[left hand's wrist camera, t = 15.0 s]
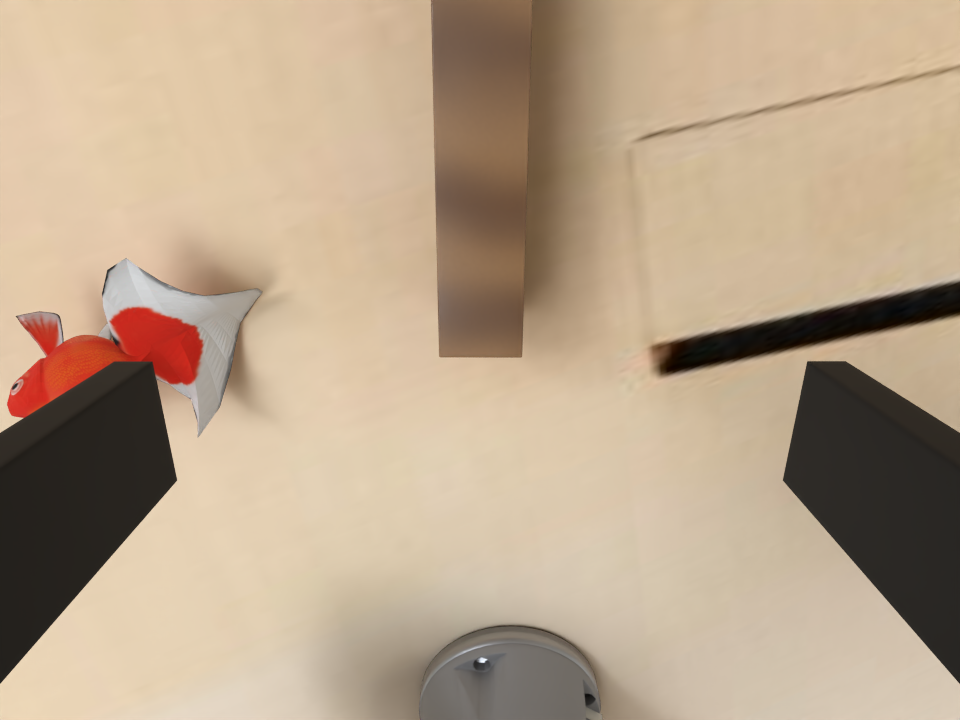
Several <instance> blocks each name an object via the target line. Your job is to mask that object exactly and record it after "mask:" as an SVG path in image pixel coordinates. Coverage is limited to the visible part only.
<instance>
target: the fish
mask: <svg viewBox="0 0 960 720" xmlns="http://www.w3.org/2000/svg"><path fill="white" fill-rule="evenodd" d="M261 293H262V291H261V290H259V289H250V290H245V291H241V292H235V293H226V294H218V295H209V296H203V295H198V294H193V293H189V292H184V291H182V290H179V289H177V288H175V287H173V286H170V285H168V284H166V283H163V282H161V281H159V280H158V279H156V278H155V277H153V276H151V275H150V274H148V273H147V272H145V271H144V270H142V269H140V268H139V267H138V266H136V265H135V264H133V263H132V262H131V261H129V260H128V259H127V258H125V259H124V260H122V261H121V262H119V263H118V264H116V265H115V266H113V267H111V268H110V269H108V270H107V274H106V279H105V283H104V288H103V292H102V297H103V307H104V312H105V315H106V319H107V322H108V324H106V325H105V326H104V328H103V329H102V330H101V332H100V333H99V335H98V336H94V335H80V336H76V337H73V338H71V339H69V340H67V341H65V342H63V331H62V325H61V319H60V316H59V315H58V314H55V313H48V312H40V311H39V312H34V313H29V314H23V315H19V316H16V317H17V318H18V320H19V321H20V323H21V324H22V326H23V327H24V328H25V329H26V330H27V331H28V332H29V334H30V335H31V336H32V338H33V339H34V340H35V341H36V342H37V343H38V345H39V346H40V348H41V349H42V351H43V352H44V354H45V355H46V358H43V359H40V360H38V361H37V362H36V363H35V364H34V365H33V366H32V367H31V368H30V369H29V370H28V371H27V372H26V373H25V374H24V375H23V376H21V377H20V378H19V379H18V380H17V381H16V382H15V383H14V384H13V386H12V388H11V391H10V395H9V399H8V402H7V406H8V409H9V412H10V414H11V415H12V416H15V417H22V418H25V417H27V416H28V415H30V414H31V413H33V412H35V411H36V410H38V409H39V408H41V407H42V406H44V405H46V404H47V403H49V402H50V401H52V400H54V399H55V398H57V397H58V396H60V395H62V394H63V393H65V392H66V391H68V390H70V389H71V388H73V387H74V386H76V385H78V384H79V383H81V382H82V381H84V380H86V379H87V378H89V377H90V376H92V375H94V374H95V373H97V372H98V371H100V370H101V369H103V368H105V367H106V366H108V365H109V364H111V363H113V362H114V361H153V366H154V371H155V376H156V379H158V380H160V381H162V382H165V383H167V384H169V385H171V386H172V387H173V388H175V389H176V390H177V391H179V392H180V393H182V394H183V395H185V396H186V397H188V398H190V399H191V400H192V404H193V407H194V411H195V414H196V418H197V421H198V437H199V436H200V434H201V433H202V431H203V430H204V428H205V427H206V426H207V424H208V423H209V421H210V420H211V419H212V417H213V416H214V414H215V413H216V412H217V410H218V409H219V407H220V405H221V401H222V398H223V394H224V391H225V388H226V384H227V381H228V378H229V374H230V371H231V366H232V361H233V355H234V350H235V345H236V340H237V336H238V332H239V327H240V323H241V321H242V320H243V318H244V317H245V316H246V314H247V313H248V311H249V310H250V308H251V307H252V305H253V304H254V302H255V301H256V300H257V298H258V297H259V296H260V295H261ZM111 334H112V337H113V340H114V342H113V341H111Z"/></svg>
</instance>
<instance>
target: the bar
mask: <svg viewBox="0 0 960 720" xmlns="http://www.w3.org/2000/svg"><path fill="white" fill-rule="evenodd" d="M431 17H432V61H433V104H434V148H435V192H436V236H437V280H438V324H439V357H522V340H523V306H524V272H525V238H526V204H527V170H528V136H529V102H530V68H531V33H532V0H431Z"/></svg>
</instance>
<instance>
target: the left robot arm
mask: <svg viewBox="0 0 960 720" xmlns="http://www.w3.org/2000/svg"><path fill="white" fill-rule="evenodd" d="M176 481H177V478H176V473H175V468H174V463H173V458H172V453H171V448H170V444H169V439H168V434H167V429H166V424H165V419H164V414H163V410H162V405H161V400H160V395H159V390H158V385H157V381H156V376H155V371H154V366H153V361H114V362H113V363H111V364H109V365H108V366H106V367H105V368H103V369H101V370H100V371H98V372H97V373H95V374H94V375H92V376H90V377H89V378H87V379H86V380H84V381H82V382H81V383H79V384H78V385H76V386H74V387H73V388H71V389H70V390H68V391H66V392H65V393H63V394H62V395H60V396H58V397H57V398H55V399H54V400H52V401H50V402H49V403H47V404H46V405H44V406H42V407H41V408H39V409H38V410H36V411H35V412H33V413H31V414H30V415H28V416H27V417H25V418H23V419H22V420H20V421H19V422H17V423H15V424H14V425H12V426H11V427H9V428H7V429H6V430H4V431H3V432H1V433H0V683H1V682H2V681H3V680H4V679H5V678H6V676H7V675H8V674H9V673H10V672H11V671H12V670H13V668H14V667H15V666H16V665H17V664H18V663H19V662H20V660H21V659H22V658H23V657H24V656H25V655H26V653H27V652H28V651H29V650H30V649H31V648H32V647H33V645H34V644H35V643H36V642H37V641H38V640H39V639H40V637H41V636H42V635H43V634H44V633H45V632H46V630H47V629H48V628H49V627H50V626H51V625H52V624H53V622H54V621H55V620H56V619H57V618H58V617H59V616H60V614H61V613H62V612H63V611H64V610H65V609H66V607H67V606H68V605H69V604H70V603H71V602H72V601H73V599H74V598H75V597H76V596H77V595H78V594H79V593H80V591H81V590H82V589H83V588H84V587H85V586H86V584H87V583H88V582H89V581H90V580H91V579H92V578H93V576H94V575H95V574H96V573H97V572H98V571H99V570H100V568H101V567H102V566H103V565H104V564H105V563H106V561H107V560H108V559H109V558H110V557H111V556H112V555H113V553H114V552H115V551H116V550H117V549H118V548H119V547H120V545H121V544H122V543H123V542H124V541H125V540H126V538H127V537H128V536H129V535H130V534H131V533H132V532H133V530H134V529H135V528H136V527H137V526H138V525H139V524H140V522H141V521H142V520H143V519H144V518H145V517H146V515H147V514H148V513H149V512H150V511H151V510H152V509H153V507H154V506H155V505H156V504H157V503H158V502H159V501H160V499H161V498H162V497H163V496H164V495H165V494H166V493H167V491H168V490H169V489H170V488H171V487H172V486H173V484H174V483H175V482H176ZM783 481H784V482H785V483H786V484H787V486H788V487H789V488H790V489H791V490H792V491H793V493H794V494H795V495H796V496H797V497H798V498H799V499H800V501H801V502H802V503H803V504H804V505H805V506H806V507H807V509H808V510H809V511H810V512H811V513H812V514H813V515H814V517H815V518H816V519H817V520H818V521H819V522H820V524H821V525H822V526H823V527H824V528H825V529H826V530H827V532H828V533H829V534H830V535H831V536H832V537H833V538H834V540H835V541H836V542H837V543H838V544H839V545H840V547H841V548H842V549H843V550H844V551H845V552H846V553H847V555H848V556H849V557H850V558H851V559H852V560H853V561H854V563H855V564H856V565H857V566H858V567H859V568H860V570H861V571H862V572H863V573H864V574H865V575H866V576H867V578H868V579H869V580H870V581H871V582H872V583H873V584H874V586H875V587H876V588H877V589H878V590H879V591H880V593H881V594H882V595H883V596H884V597H885V598H886V599H887V601H888V602H889V603H890V604H891V605H892V606H893V607H894V609H895V610H896V611H897V612H898V613H899V614H900V616H901V617H902V618H903V619H904V620H905V621H906V622H907V624H908V625H909V626H910V627H911V628H912V629H913V630H914V632H915V633H916V634H917V635H918V636H919V637H920V639H921V640H922V641H923V642H924V643H925V644H926V645H927V647H928V648H929V649H930V650H931V651H932V652H933V653H934V655H935V656H936V657H937V658H938V659H939V660H940V662H941V663H942V664H943V665H944V666H945V667H946V668H947V670H948V671H949V672H950V673H951V674H952V675H953V676H954V678H955V679H956V680H957V681H958V682H959V683H960V433H959V432H957V431H956V430H954V429H953V428H951V427H949V426H948V425H946V424H945V423H943V422H941V421H940V420H938V419H937V418H935V417H933V416H932V415H930V414H929V413H927V412H925V411H924V410H922V409H921V408H919V407H918V406H916V405H914V404H913V403H911V402H910V401H908V400H906V399H905V398H903V397H902V396H900V395H898V394H897V393H895V392H894V391H892V390H890V389H889V388H887V387H886V386H884V385H882V384H881V383H879V382H878V381H876V380H874V379H873V378H871V377H870V376H868V375H866V374H865V373H863V372H862V371H860V370H859V369H857V368H855V367H854V366H852V365H851V364H849V363H847V362H846V361H807V366H806V371H805V376H804V381H803V385H802V390H801V395H800V400H799V405H798V410H797V414H796V419H795V424H794V429H793V434H792V439H791V444H790V448H789V453H788V458H787V463H786V468H785V473H784V478H783ZM600 710H601V705H600V697H599V693H598V688H597V683H596V679H595V675H594V672H593V670H592V668H591V666H590V664H589V663H588V661H587V660H586V658H585V657H584V656H583V655H582V654H581V653H580V652H579V651H578V650H577V649H576V648H575V647H574V646H572V645H571V644H570V643H568V642H566V641H565V640H563V639H561V638H559V637H557V636H555V635H553V634H550V633H548V632H544V631H541V630H537V629H533V628H526V627H515V626H506V627H494V628H488V629H484V630H480V631H476V632H473V633H470V634H468V635H466V636H463V637H461V638H459V639H457V640H456V641H454V642H452V643H451V644H449V645H448V646H446V647H445V648H444V649H443V650H442V651H441V652H440V653H439V654H438V655H437V656H436V657H435V658H434V659H433V660H432V662H431V663H430V665H429V666H428V668H427V670H426V672H425V675H424V678H423V681H422V686H421V695H420V705H419V714H420V720H603V718H602V714H600Z"/></svg>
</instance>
